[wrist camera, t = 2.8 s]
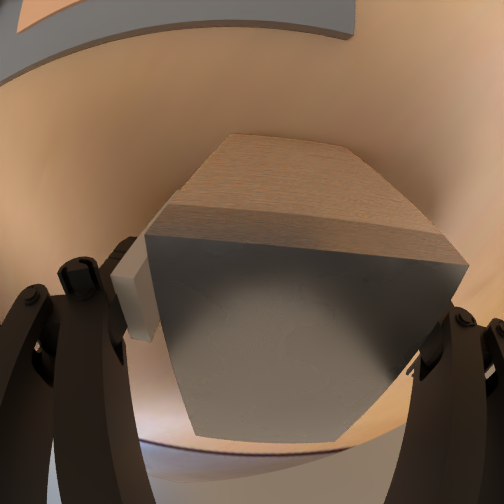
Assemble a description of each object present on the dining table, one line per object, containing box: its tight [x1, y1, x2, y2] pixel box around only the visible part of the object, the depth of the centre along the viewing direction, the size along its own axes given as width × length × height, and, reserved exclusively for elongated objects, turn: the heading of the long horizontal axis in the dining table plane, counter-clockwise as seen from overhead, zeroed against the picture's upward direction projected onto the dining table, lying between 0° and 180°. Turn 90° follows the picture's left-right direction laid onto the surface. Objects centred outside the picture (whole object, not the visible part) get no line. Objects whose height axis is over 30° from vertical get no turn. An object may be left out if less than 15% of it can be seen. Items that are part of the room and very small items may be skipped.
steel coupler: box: [144, 134, 469, 443], centre depth 9 cm, size 5×8×9 cm, turn 176°
